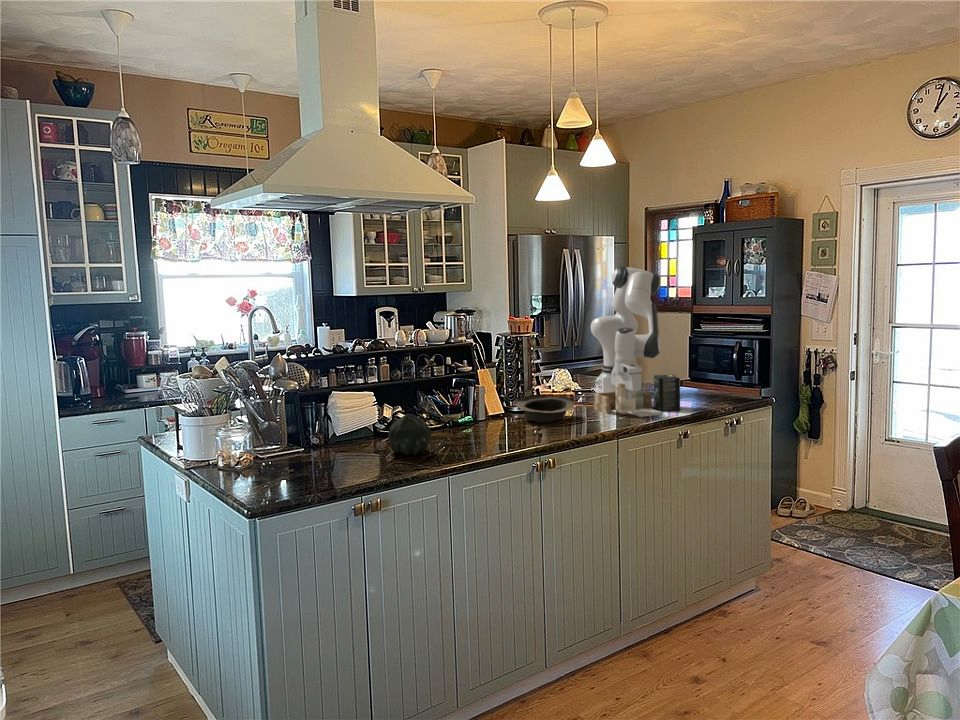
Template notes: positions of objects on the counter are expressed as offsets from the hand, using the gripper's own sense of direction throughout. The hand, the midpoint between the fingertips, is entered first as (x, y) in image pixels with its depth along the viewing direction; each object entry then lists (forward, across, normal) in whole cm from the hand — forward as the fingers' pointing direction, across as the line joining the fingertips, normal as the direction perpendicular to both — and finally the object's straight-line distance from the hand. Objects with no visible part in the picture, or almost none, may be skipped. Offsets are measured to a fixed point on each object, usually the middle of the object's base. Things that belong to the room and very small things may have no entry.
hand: (625, 398), depth 308 cm
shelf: (+7, -12, +5) cm, 15 cm away
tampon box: (+7, -5, +23) cm, 25 cm away
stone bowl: (+7, -7, -34) cm, 35 cm away
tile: (+7, 0, +9) cm, 11 cm away
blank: (+5, 0, 0) cm, 5 cm away
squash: (+7, +26, -99) cm, 103 cm away
